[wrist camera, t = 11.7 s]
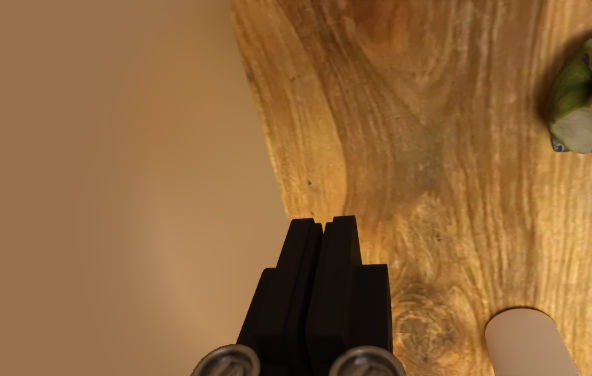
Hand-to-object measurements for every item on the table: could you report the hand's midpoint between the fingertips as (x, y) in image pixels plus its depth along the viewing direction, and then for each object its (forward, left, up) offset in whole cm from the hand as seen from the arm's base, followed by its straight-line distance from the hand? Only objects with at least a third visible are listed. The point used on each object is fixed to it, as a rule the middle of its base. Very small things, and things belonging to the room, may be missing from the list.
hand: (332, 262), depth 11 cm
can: (+27, +12, -24) cm, 38 cm away
